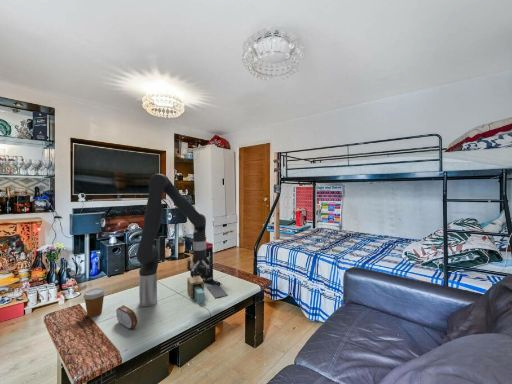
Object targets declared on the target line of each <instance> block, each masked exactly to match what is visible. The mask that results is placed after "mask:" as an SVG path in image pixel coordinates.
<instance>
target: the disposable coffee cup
mask: <svg viewBox="0 0 512 384" xmlns="http://www.w3.org/2000/svg"><path fill="white" fill-rule="evenodd" d="M105 294H106V290H105V289H104V288H101V287H100V288H98V287H97V288H93V289H89V290H87V291H85V292H84V295H83V299H84V302H85V303H84V305H85V310H86V315H87V317H89V318H95V317H98V316H100V315H101V314H102V312H103V308H104V307H103V305H104V300H105V299H104V297H105Z"/></svg>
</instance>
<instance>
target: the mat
mask: <svg viewBox="0 0 512 384" xmlns="http://www.w3.org/2000/svg"><path fill="white" fill-rule="evenodd" d="M217 285H218V284H214V285H210V286H209V285H208V286H206V288H207V290H208V291H209V292H210V294H211V295H212V296H213V298H214V299H219V298H220V299H221V298H224V297H228V296H229V294H228V293H227V292H226V291H225V290H224V289H223V288H222V287H221V286H220V285H219V286H217Z"/></svg>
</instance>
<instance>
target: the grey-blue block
mask: <svg viewBox="0 0 512 384" xmlns="http://www.w3.org/2000/svg"><path fill="white" fill-rule="evenodd" d="M193 298H194V299H195V301H196V303H197V304H199V305H200V304H202V303H203V304H204V303H205V290H204V291H203V290H202V289H201V287H200V286H199V285H193Z"/></svg>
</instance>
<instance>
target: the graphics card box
mask: <svg viewBox="0 0 512 384" xmlns="http://www.w3.org/2000/svg"><path fill="white" fill-rule="evenodd" d="M213 247H214V245H213V243H211V242H207V241H206V257H209V256H210V257H211V258H212V267H210V268H209V274H208V275H206V266H205V265H203V266H196V268H195V269H194V270H193V271H194V277H195V276H200V277H201V278H202V279H203V280H204V281H205V282H204V283H207V282H206V281H208V280H211V281H214V253H213V251H214V248H213ZM192 263H193V262H192ZM205 263H206V264H207V265H209V261H208V259H207V260H206V262H205ZM193 264H194V263H193ZM193 264H192V265H193Z"/></svg>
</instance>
